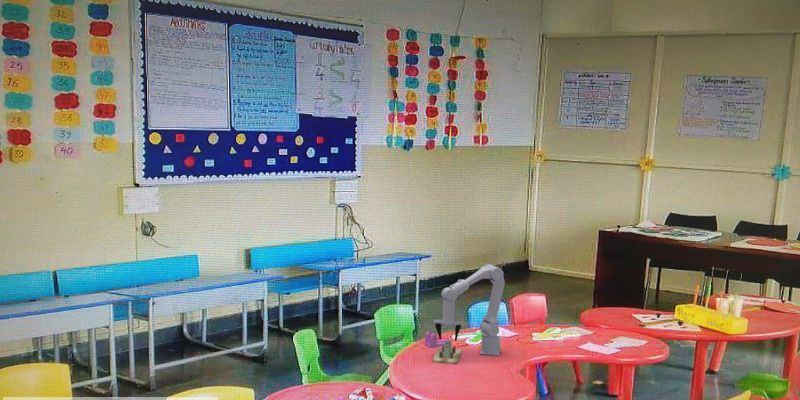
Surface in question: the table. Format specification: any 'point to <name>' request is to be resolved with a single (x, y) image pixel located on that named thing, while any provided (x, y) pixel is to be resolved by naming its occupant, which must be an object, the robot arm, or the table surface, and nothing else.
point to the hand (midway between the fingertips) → (448, 339)
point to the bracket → (433, 340)
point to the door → (447, 348)
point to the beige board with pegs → (452, 358)
